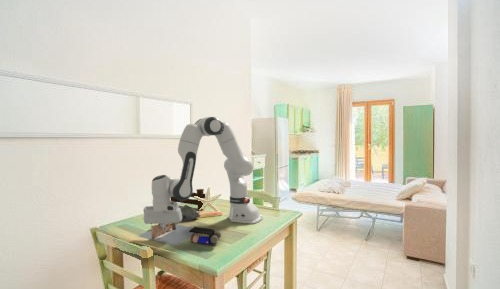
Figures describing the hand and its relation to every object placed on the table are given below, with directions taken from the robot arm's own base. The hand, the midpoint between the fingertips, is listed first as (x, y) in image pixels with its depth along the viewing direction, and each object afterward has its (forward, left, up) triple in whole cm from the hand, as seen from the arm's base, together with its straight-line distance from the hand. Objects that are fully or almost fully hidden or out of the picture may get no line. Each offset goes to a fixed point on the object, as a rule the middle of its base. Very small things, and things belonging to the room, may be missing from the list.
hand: (164, 230), depth 136 cm
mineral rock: (+5, -25, -4) cm, 26 cm away
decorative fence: (+26, -46, -4) cm, 53 cm away
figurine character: (-25, -3, -4) cm, 26 cm away
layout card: (0, -5, -3) cm, 6 cm away
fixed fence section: (+7, -9, -3) cm, 11 cm away
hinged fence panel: (+2, -1, -3) cm, 3 cm away
